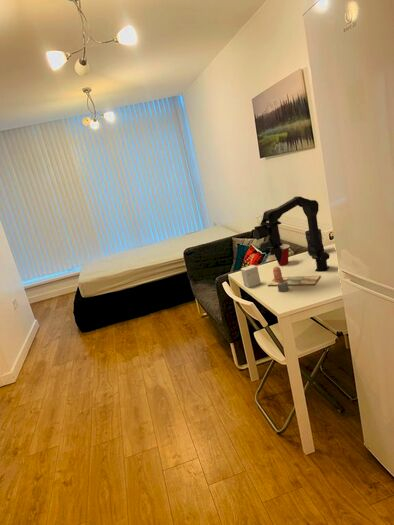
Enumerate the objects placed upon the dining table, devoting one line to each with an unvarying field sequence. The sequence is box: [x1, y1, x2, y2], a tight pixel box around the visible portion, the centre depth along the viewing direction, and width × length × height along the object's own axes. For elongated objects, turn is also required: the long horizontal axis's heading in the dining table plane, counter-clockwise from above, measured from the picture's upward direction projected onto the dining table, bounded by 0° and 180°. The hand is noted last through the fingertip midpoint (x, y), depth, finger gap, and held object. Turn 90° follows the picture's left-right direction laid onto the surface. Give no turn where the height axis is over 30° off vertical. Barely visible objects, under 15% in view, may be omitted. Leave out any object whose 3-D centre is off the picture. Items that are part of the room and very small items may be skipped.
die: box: [277, 282, 290, 293], centre depth 199 cm, size 4×4×4 cm
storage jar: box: [304, 228, 324, 246], centre depth 246 cm, size 10×10×15 cm
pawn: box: [272, 266, 283, 282], centre depth 212 cm, size 5×5×8 cm
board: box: [267, 275, 321, 287], centre depth 208 cm, size 12×26×1 cm, turn 58°
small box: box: [240, 264, 262, 289], centre depth 217 cm, size 8×6×10 cm
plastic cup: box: [277, 243, 291, 266], centre depth 240 cm, size 11×11×12 cm
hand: (279, 262), depth 205 cm, fingers closed
